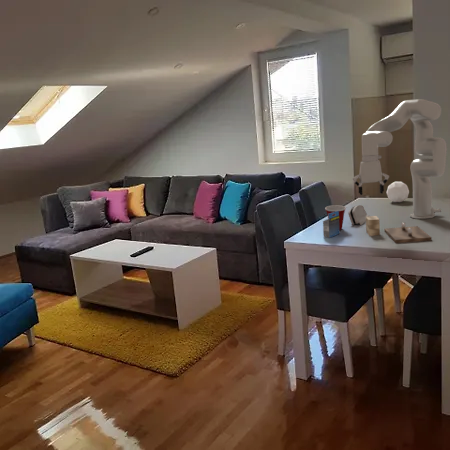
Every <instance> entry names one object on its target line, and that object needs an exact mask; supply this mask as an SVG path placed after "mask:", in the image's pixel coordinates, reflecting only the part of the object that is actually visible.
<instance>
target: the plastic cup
mask: <svg viewBox="0 0 450 450" xmlns="http://www.w3.org/2000/svg"><path fill="white" fill-rule="evenodd" d="M346 208H347V207H346V206H345V205H337V204H335V205H333V204H332V205H328V206H326V207H325V208H324V209H325V212H326V214H327V219H329V217H328V214H330V213H333V212H336V211H339V231H341V230H343V223H344V219H345V217H344V216H345V212H346ZM334 215H335V214H333V215H332V216H334Z"/></svg>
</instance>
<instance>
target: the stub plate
mask: <svg viewBox="0 0 450 450" xmlns="http://www.w3.org/2000/svg"><path fill="white" fill-rule="evenodd" d="M384 233H385V234H386V235H387V236H388V237H389V238H390V239H391V240H392V242H394V243H395V244H399V243H400V244H401V243H403V244H404V243H415V242H427V241H428V242H429V241H432V236H430V235H429V234H428V233H427V232H425V231H424V230H423V229H421V228H420V227H419V226H418V225H416V226H415V225H414V226H406V222H401V226H400V227H389V228H384Z"/></svg>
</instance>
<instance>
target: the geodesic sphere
mask: <svg viewBox="0 0 450 450" xmlns="http://www.w3.org/2000/svg"><path fill="white" fill-rule="evenodd" d="M409 194H410V190H409V187H408V185H407V184H406V183H404V182H403V181H398V180H397V181H396V180H395V181H394V182H392V183H390V184H389V185H388V186H387V190H386V196H387V198H388V199H389V200H390V201H392V202H393V203H402V202H404V201H406V200H407V199H408V197H409Z"/></svg>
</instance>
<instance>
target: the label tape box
mask: <svg viewBox="0 0 450 450" xmlns="http://www.w3.org/2000/svg"><path fill="white" fill-rule="evenodd" d="M333 214H335V215H334V216H332V215H333ZM328 217H329V219H328ZM322 231H323V238H329V239H330V238H333V237H334V236H337V235H339V234H340V230H339V211H336V212H333V213H330V214H328V215H327V219H325V220H323V221H322Z"/></svg>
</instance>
